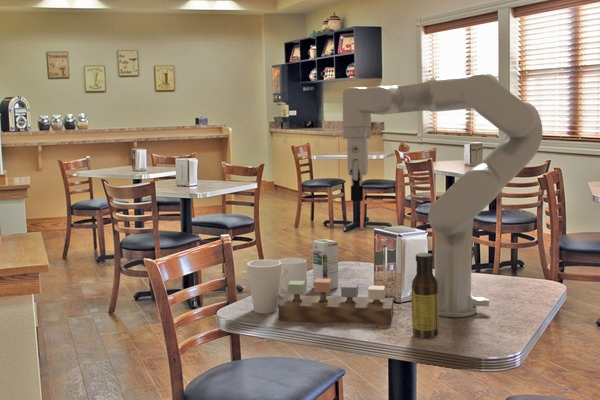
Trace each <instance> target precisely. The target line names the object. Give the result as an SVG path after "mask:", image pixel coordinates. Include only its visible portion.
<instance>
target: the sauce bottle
mask: <svg viewBox="0 0 600 400" xmlns="http://www.w3.org/2000/svg"><path fill="white" fill-rule="evenodd" d="M433 261H434V254H432V253H431V252H430V253H428V252H419V253H416V254H415V263H416V270H415V271H416V274H415V276H414V277H413V279H412V281H411V282H412V283H411V318H412V320H411V321H412V322H411V325H412V334H413V335H414V336H415V337H416V338H419V339H429V340H431V339H433V338H437V336H438V335H439V327H440V324H439V321H440V320H439V318H440V316H439V314H438V283H437V280H436V278H435V274H434V272H433V271H434V269H433Z"/></svg>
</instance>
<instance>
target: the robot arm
mask: <svg viewBox="0 0 600 400" xmlns="http://www.w3.org/2000/svg"><path fill="white" fill-rule="evenodd" d="M470 109H472V110H474V111H475V112H476V113H477V114H479V115H480V116H481V117H482V118H484V119H485V120H487V121H488V122H489V123H490V124H491V125H493V126H495V128H496V129H498V130H499V131H501V132H503V134H505V135H506V136H505V137H504V139H503V140H502V141H501V142H500V143H499V144H498V145H497V146H496V147H495V148H493V150H492V151H491V152H490V153H489V154H488V155H487V156H486V157H485V158H483V160H482V161H481V162H480V163H477V165H475V166H473V167H471V168H470V169H468V170H467V171H466V172H465V173H463V174H462V175H461V176H460V177H459V178H458V179H456V181H455V182H454V183H453V184H452V185H451V186H450V187H449V188H447V190H445V191H444V193H442V195H440V197H438V198H437V199H436V200H435V201H434V202H433V203H432V205H431V206H430V207H429V210H428V215H427V216H428V217H427V218H428V222H429V225H430V227H431V228H432V230H434V232H435V234H434V277H435V278H436V280H437V283H438V314H439V317H444V318H466V317H472V316H473V315H476V314H477V312H478V309H477V307H478V306H479V307H489V306H490V299H487V298H484V297H475V296H473V292H472V253H473V252H472V251H473V250H472V249H473V248H472V247H473V229H474V227H473V226H474V219H475V218H476V217H477V216H478V215H479V214H480V213H481V212H482V211H483V210H485V209H486V207H487V206H488V205H490V204H491V203H492V202H493V201H494V200H495V199H496V197H497V198H498V195H499V194H500V193H501V191H502V190H503V189H504V188H505V187H506V186H507V185H508V184H509V183H510V182H511V181H512V180H513V179H514V178H515V177H516V176H517V175H518V174H519V173H520V172H522V170H523V169H524V168H525V167H526V166H527V165H528V164H529V163H530V162H531V160H533V158H534V157H535V156H536V154H537V153H538V150H539V148H540V146H541V143H542V139H543V124H542V119H541V116H540V113H539V111H538V109H537V108H536V106H534V105H533V104H531V103H530V102H528V101H522V100H521V99H520V98H519V97H517V96H515V94H513V93H512V92H510V91H509V90H507V89H506V88H505V87H504V86H503V85H501V83H500V82H499V80H498V78H497V77H496V76H494V75H492V74H489V73H485V72H477V73H474V74H468V75H458V76H448V77H447V76H445V77H437V78H432V79H430V80H426V81H423V82H419V83H410V84H399V85H378V86H377V85H376V86H371V87H365V86H359V87H358V86H352V87H349V86H348V87H345V88H344V89H343V91H342V139H343V140H346V146H347V147H346V150H347V151H346V155H347V158H346V159H347V160H346V161H347V174H348V176H350V177H351V178H350V181H351V183H350V201H351V202H363V200H364V186H363V177H366V175H368V173H369V165H368V163H369V162H368V161H369V159H368V154H369V150H368V140H369V139H370V140H371V137H372V131H371V130H372V128H371V127H372V114H373V115H382V116H383V115H392V114H394V115H395V114H400V113H402V114H404V113H411V112H412V113H413V112H424V111H425V112H432V113H433V112H436V113H437V112H447V111H448V112H449V111H459V110H470Z"/></svg>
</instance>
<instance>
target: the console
mask: <svg viewBox="0 0 600 400" xmlns="http://www.w3.org/2000/svg"><path fill="white" fill-rule="evenodd" d="M277 309H278V321H288V322H290V321H293V322H315V323H316V322H320V323H326V322H327V323H353V324H381V325H392V322H393V321H392V320H393V317H394V297H384V300H380V304H374V299H368V296H366V297H365V296H363V297H362V296H357V297H353V303H347V297H341V296H336V295H335V296H333V295H331V296H330V295H329V296H328V295H326V303H323V302H320V295H305V296H300V302H294V295H286V296H285V297H284V298H283V297H282V300H281V301H280V303H278V307H277Z"/></svg>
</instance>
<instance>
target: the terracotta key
mask: <svg viewBox="0 0 600 400" xmlns="http://www.w3.org/2000/svg"><path fill="white" fill-rule="evenodd" d="M313 289H314V292H315V293H319V296H320V302H323V303H326V296H327V293H330V292H331V291H332V290H333V289H332V279H320V278H317V279H316V280H315V282H314V288H313Z"/></svg>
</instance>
